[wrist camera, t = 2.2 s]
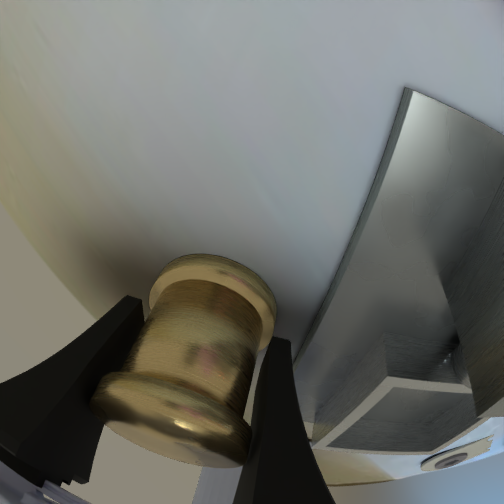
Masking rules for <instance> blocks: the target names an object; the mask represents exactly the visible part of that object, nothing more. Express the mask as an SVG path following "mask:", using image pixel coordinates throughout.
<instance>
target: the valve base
mask: <svg viewBox="0 0 504 504" xmlns="http://www.w3.org/2000/svg"><path fill="white" fill-rule="evenodd" d="M292 367H293V375H294V381H295V387H296V392H297V397H298V402H299V407H300V411H301V415H302V419H303V421H305V422H311V423H314V425H313V434H312V443H311V448H312V449H320V450H329V451H338V452H349V453H363V454H383V455H431V454H434V453H436V452H438V451H440V450H441V449H443V448H445V447H447V446H448V445H450V444H452V443H453V442H455V441H456V440H458V439H460V438H461V437H463V436H464V435H466V434H467V433H469V432H471V431H472V430H474V429H475V428H477V427H478V426H479V425H481V424H482V423H484V422H485V421H487V420H488V419H489V418H491V417H504V135H502V134H500V133H499V132H497V131H495V130H494V129H492V128H490V127H488V126H487V125H485V124H483V123H481V122H479V121H478V120H476V119H474V118H472V117H470V116H468V115H466V114H464V113H462V112H460V111H458V110H456V109H454V108H452V107H450V106H448V105H446V104H444V103H441V102H439V101H437V100H435V99H433V98H430V97H428V96H426V95H423V94H421V93H419V92H416V91H414V90H411V89H409V88H406V87H405V89H404V92H403V96H402V99H401V103H400V106H399V109H398V112H397V116H396V119H395V122H394V125H393V128H392V131H391V134H390V137H389V140H388V143H387V146H386V149H385V152H384V155H383V158H382V161H381V164H380V166H379V169H378V172H377V175H376V177H375V180H374V183H373V186H372V188H371V191H370V194H369V196H368V199H367V201H366V204H365V207H364V209H363V212H362V214H361V217H360V219H359V222H358V224H357V227H356V229H355V232H354V234H353V237H352V239H351V241H350V244H349V246H348V249H347V251H346V253H345V256H344V258H343V260H342V263H341V265H340V267H339V269H338V272H337V274H336V276H335V279H334V281H333V283H332V285H331V287H330V290H329V292H328V294H327V296H326V298H325V300H324V303H323V305H322V307H321V309H320V311H319V313H318V315H317V317H316V319H315V322H314V324H313V326H312V328H311V330H310V332H309V334H308V336H307V338H306V340H305V342H304V344H303V346H302V348H301V350H300V352H299V354H298V356H297V358H296V360H295V361H294V363H293V365H292Z"/></svg>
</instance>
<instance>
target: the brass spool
mask: <svg viewBox="0 0 504 504" xmlns="http://www.w3.org/2000/svg"><path fill="white" fill-rule="evenodd" d="M149 305H150V309H151V312H150V314H149V316H148V318H147V320H146V322H145V323H144V325H143V327H142V329H141V331H140V333H139V335H138V337H137V338H136V340H135V342H134V344H133V346H132V348H131V350H130V352H129V354H128V356H127V358H126V360H125V362H124V364H123V366H122V368H121V370H120V372H111V373H108V374H106V375H104V376H103V377H102V378H101V380H100V382H99V384H98V386H97V388H96V390H95V392H94V394H93V396H92V398H91V400H90V402H89V407H90V409H91V411H92V412H93V414H94V415H95V416H96V417H97V418H98V419H99V420H100V421H101V422H102V423H103V424H105V425H106V426H107V427H109V428H110V429H111V430H113V431H114V432H115V433H117V434H119V435H120V436H122V437H124V438H125V439H127V440H129V441H131V442H133V443H134V444H136V445H139V446H140V447H143V448H145V449H147V450H149V451H152V452H154V453H157V454H159V455H162V456H165V457H168V458H170V459H174V460H177V461H181V462H184V463H188V464H193V465H198V466H203V467H210V468H237V467H240V466H243V465H244V464H246V462H247V458H248V453H249V449H250V444H251V440H252V435H253V433H252V429H251V427H250V426H249V425H248V423H247V422H246V421H245V420H244V419H243V416H244V412H245V407H246V403H247V399H248V394H249V390H250V386H251V381H252V377H253V373H254V368H255V364H256V359H257V355H258V352H259V351H261V350H262V349H263V348H265V347H266V346H267V345H268V343H269V342H270V340H271V338H272V335H273V331H274V326H275V320H276V315H277V306H276V301H275V298H274V296H273V294H272V292H271V290H270V289H269V287H268V286H267V285H266V283H265V282H264V281H263V280H262V279H261V278H260V277H259V276H258V275H256V274H255V273H254V272H252V271H251V270H250V269H248V268H247V267H245V266H243V265H241V264H239V263H237V262H235V261H232V260H230V259H227V258H223V257H220V256H215V255H207V254H193V255H186V256H183V257H180V258H177V259H175V260H173V261H172V262H170V263H169V264H168V265H167V266H166V267H165V268H164V269H163V270H162V272H161V273H160V275H159V277H158V278H157V280H156V282H155V283H154V285H153V287H152V289H151V291H150V295H149Z"/></svg>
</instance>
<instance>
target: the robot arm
mask: <svg viewBox="0 0 504 504" xmlns="http://www.w3.org/2000/svg"><path fill="white" fill-rule="evenodd" d="M144 323H145V321H144V314H143V306H142V300H141V299H138V298H135V297H132V296H129V295H127V296H125V297H124V298H123V299H122V300H121V301H119V302H118V303H117V304H116V305H115V306H114V307H113V308H112V309H111V310H109V311H108V312H107V313H106V314H105V315H104V316H103V317H101V318H100V319H99V320H98V321H97V322H96V323H94V324H93V325H92V326H91V327H90V328H88V329H87V330H86V331H85V332H84V333H82V334H81V335H80V336H79V337H77V338H76V339H75V340H73V341H72V342H71V343H69V344H68V345H67V346H65V347H64V348H63V349H62V350H60V351H59V352H57V353H56V354H54V355H53V356H51V357H49V358H48V359H46V360H45V361H43V362H41V363H40V364H38V365H37V366H35V367H33V368H31V369H29V370H28V371H26V372H24V373H22V374H20V375H17V376H15V377H13V378H11V379H9V380H7V381H5V382H3V383H0V504H58V503H60V504H91V503H89V502H87V501H85V500H83V499H81V498H79V497H78V496H76V495H74V494H72V493H70V492H68V491H66V490H65V489H63V488H61V487H60V486H61V484H62V482H64V483H66V484H67V485H70V483H71V481H72V480H74V481H76V482H78V483H80V484H85V483H87V482H89V477H90V473H91V469H92V464H93V460H94V456H95V452H96V449H97V445H98V442H99V439H100V436H101V433H102V430H103V427H104V424H103V423H102V422H101V421H100V420H99V419H98V418H97V417H96V416H95V415H94V414H93V412H92V411H91V409H90V407H89V402H90V400H91V398H92V396H93V394H94V392H95V390H96V388H97V386H98V384H99V382H100V380H101V378H102V377H103V376H104V375H106V374H108V373H111V372H120V370H121V368H122V366H123V364H124V362H125V360H126V358H127V356H128V354H129V352H130V350H131V348H132V346H133V344H134V342H135V340H136V338H137V337H138V335H139V333H140V331H141V329H142V327H143V325H144ZM250 427H251V429H252V433H253V435H252V440H251V444H250V449H249V453H248V458H247V462H246V464H244V465H243V466H240V467H237V468H210V467H202V471H201V474H200V478H199V481H198V484H197V488H196V491H195V495H194V498H193V502H192V504H336V503H335V501H334V500H333V498H332V496H331V493H330V492H329V489H328V487H327V485H326V483H325V481H324V479H323V476H322V474H321V472H320V469H319V467H318V465H317V462H316V460H315V457H314V454H313V452H312V448H311V443H312V442H309V440H308V437H307V433H306V430H305V427H304V423H303V419H302V415H301V411H300V407H299V402H298V397H297V392H296V387H295V381H294V375H293V367H292V357H291V342H290V341H289V340H287V339H283V338H278V337H274V336H272V338H271V340H270V343H269V346H268V349H267V351H266V354H265V357H264V359H263V362H262V365H261V369H260V373H259V377H258V381H257V385H256V390H255V397H254V404H253V412H252V419H251V426H250ZM43 494H45V495H47V496H48V497H50V498H52V499H53V500H55V501H57V502H58V503H56V502H54V501H52V500H49V499H47V498H45V497H44V496H43Z"/></svg>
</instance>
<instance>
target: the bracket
mask: <svg viewBox="0 0 504 504" xmlns="http://www.w3.org/2000/svg"><path fill="white" fill-rule="evenodd" d="M493 436H494V434H493V435H491V436H488V437H485V438H483V439H480V440H477V441H474V442H471V443H468V444H465V445H463V446H460V447H458V448H455V449H452V450H450V451H447V452H444V453H442V454H440V455H437V456H435V457H433V458H431V459H429V460H427V461H426V462H424V463H423V464H422V465H421V470H422V471H433V470H439V469H443V468H447V467H450V466H453V465H456V464H458V463H460V462H463V461H466V460H468V459H471V458H473V457H475V456H478V455H480V454H482V453H485V452H487V451H489V450H490V449H488V448H489V447H491V443H492V440H491V441H487V440H488V439H489V438H490V437H493Z"/></svg>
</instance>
